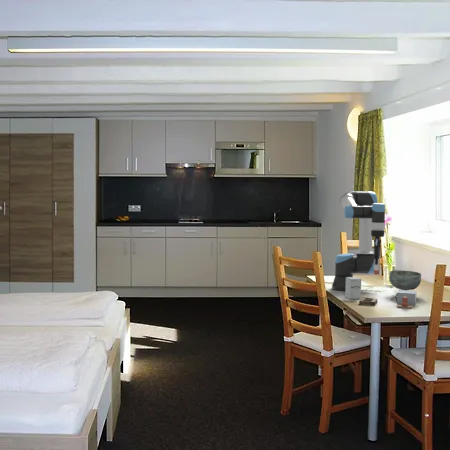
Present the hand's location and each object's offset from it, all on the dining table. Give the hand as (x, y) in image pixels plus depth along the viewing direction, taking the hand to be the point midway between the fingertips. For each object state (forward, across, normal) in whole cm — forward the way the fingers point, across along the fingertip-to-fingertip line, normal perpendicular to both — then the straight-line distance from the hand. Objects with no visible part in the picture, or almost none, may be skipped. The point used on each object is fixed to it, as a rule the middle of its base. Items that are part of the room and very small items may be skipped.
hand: (376, 269), depth 369 cm
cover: (+20, -6, +17) cm, 27 cm away
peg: (+3, 0, 0) cm, 3 cm away
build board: (+20, +2, -4) cm, 20 cm away
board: (+20, +4, +17) cm, 27 cm away
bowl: (+20, -30, +15) cm, 39 cm away
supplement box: (+20, -11, -15) cm, 27 cm away
